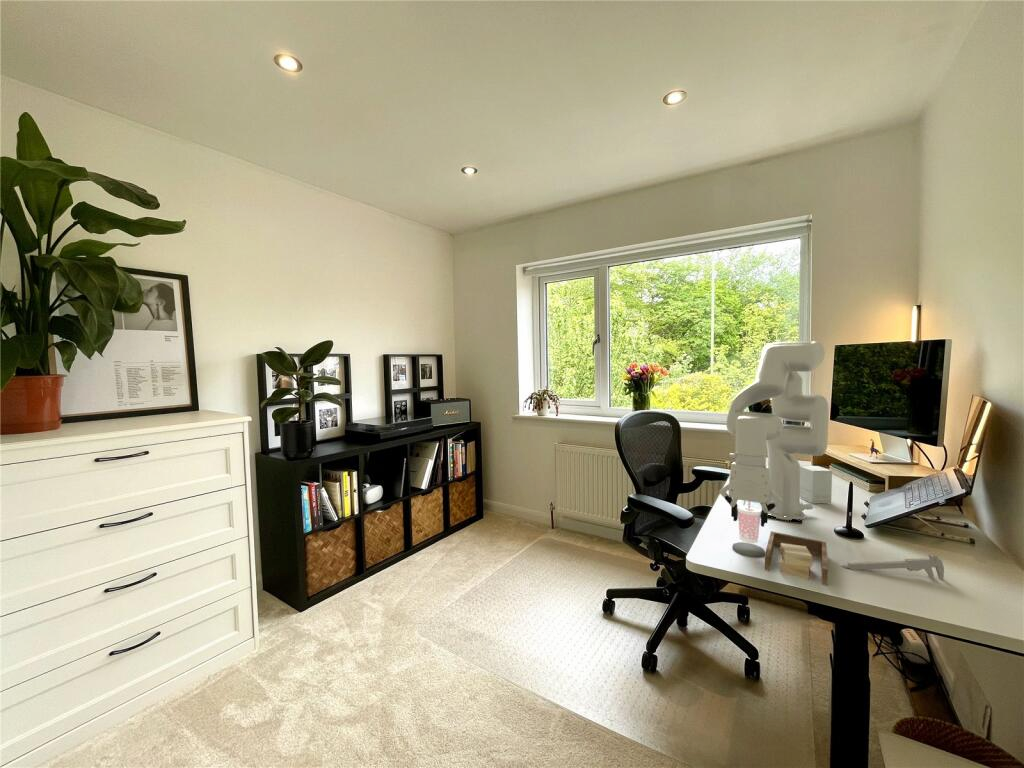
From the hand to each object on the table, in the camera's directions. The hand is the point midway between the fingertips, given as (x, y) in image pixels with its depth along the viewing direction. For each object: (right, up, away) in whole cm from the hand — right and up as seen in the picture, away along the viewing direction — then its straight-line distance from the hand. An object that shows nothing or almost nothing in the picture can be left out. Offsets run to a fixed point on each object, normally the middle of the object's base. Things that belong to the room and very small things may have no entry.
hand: (749, 521), depth 118 cm
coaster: (0, -8, 0) cm, 8 cm away
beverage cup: (0, -5, 0) cm, 5 cm away
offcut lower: (+6, -9, -11) cm, 16 cm away
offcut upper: (+6, -6, -11) cm, 14 cm away
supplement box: (+48, -6, +41) cm, 64 cm away
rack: (+9, -9, -7) cm, 14 cm away
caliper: (+29, -9, -13) cm, 33 cm away
